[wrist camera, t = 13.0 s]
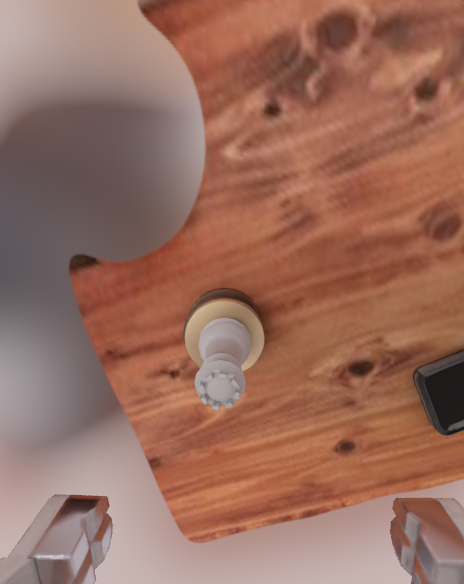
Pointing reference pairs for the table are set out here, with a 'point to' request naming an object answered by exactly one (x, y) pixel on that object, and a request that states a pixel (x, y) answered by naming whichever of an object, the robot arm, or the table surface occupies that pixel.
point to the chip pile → (224, 306)
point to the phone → (443, 392)
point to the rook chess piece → (222, 362)
